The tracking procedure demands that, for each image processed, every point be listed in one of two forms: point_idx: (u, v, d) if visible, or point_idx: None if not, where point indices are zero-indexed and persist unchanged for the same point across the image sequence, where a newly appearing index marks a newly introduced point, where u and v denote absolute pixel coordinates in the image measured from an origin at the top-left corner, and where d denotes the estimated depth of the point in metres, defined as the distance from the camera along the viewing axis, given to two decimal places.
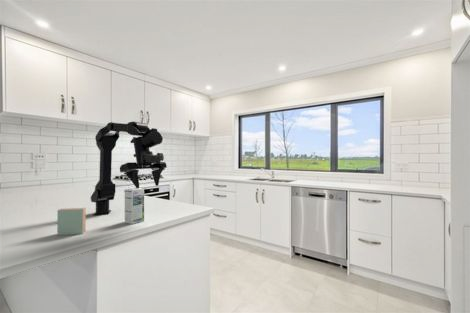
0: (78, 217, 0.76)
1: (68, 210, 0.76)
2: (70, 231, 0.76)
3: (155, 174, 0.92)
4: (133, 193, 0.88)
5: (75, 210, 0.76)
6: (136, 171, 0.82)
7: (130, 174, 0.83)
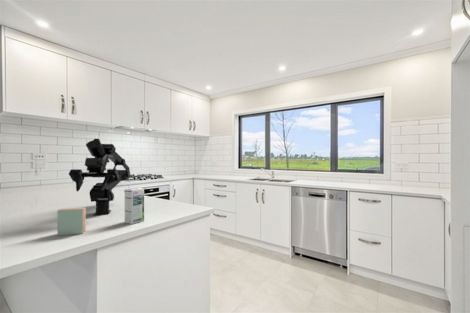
0: (78, 217, 0.76)
1: (68, 210, 0.76)
2: (70, 231, 0.76)
3: None
4: (133, 193, 0.88)
5: (75, 210, 0.76)
6: (76, 175, 0.91)
7: None
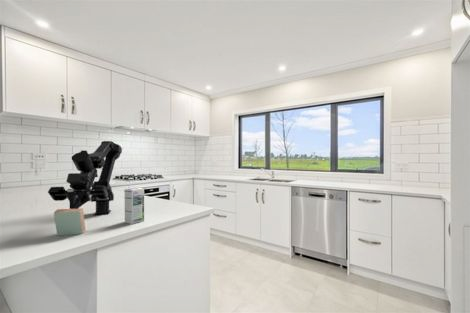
0: (76, 219, 0.75)
1: (65, 212, 0.74)
2: (70, 232, 0.75)
3: None
4: (133, 193, 0.88)
5: (72, 212, 0.74)
6: (70, 193, 0.79)
7: None
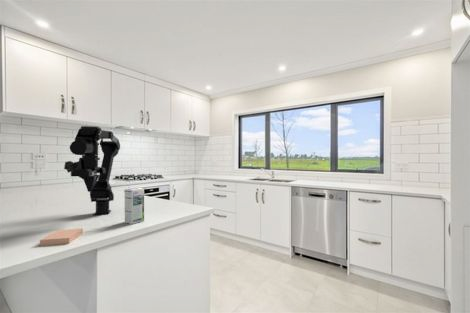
0: None
1: None
2: None
3: None
4: (133, 193, 0.88)
5: None
6: None
7: None
